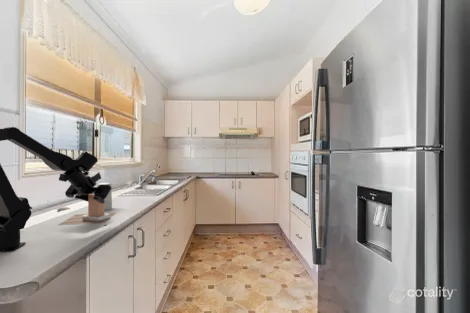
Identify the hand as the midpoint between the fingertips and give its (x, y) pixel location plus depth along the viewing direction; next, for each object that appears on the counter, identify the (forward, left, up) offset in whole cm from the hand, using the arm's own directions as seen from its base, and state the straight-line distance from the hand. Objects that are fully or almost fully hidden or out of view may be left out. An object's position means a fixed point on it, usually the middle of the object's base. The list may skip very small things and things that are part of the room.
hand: (98, 202), depth 112 cm
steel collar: (-1, +1, -7) cm, 7 cm away
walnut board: (+1, +4, -9) cm, 10 cm away
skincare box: (+24, +3, -9) cm, 26 cm away
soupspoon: (+20, +24, -9) cm, 32 cm away
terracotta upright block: (-1, +1, -6) cm, 6 cm away
